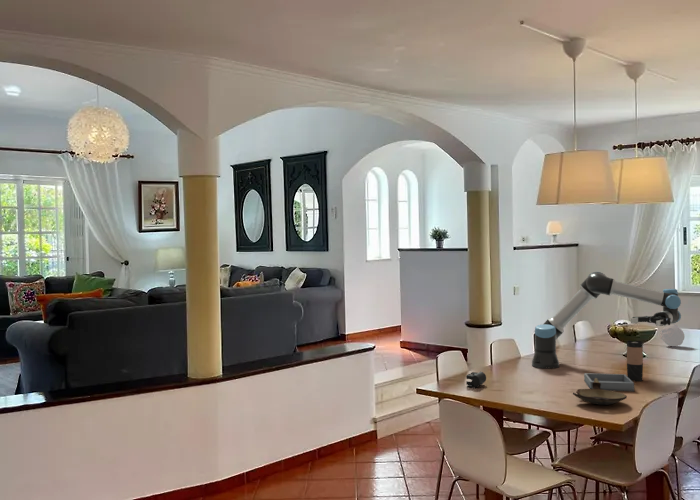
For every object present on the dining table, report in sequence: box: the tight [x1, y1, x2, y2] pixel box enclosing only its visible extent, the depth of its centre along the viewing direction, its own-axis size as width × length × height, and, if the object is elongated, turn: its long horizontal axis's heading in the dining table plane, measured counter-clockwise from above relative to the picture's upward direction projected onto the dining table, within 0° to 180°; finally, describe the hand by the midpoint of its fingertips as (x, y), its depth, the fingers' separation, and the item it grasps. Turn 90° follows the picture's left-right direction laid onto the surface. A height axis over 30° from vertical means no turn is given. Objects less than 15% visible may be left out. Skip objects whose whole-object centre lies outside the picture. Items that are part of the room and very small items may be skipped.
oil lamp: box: [572, 378, 627, 406], centre depth 291 cm, size 22×30×8 cm
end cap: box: [465, 371, 487, 389], centre depth 325 cm, size 10×7×7 cm
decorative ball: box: [659, 323, 685, 347], centre depth 429 cm, size 15×13×15 cm
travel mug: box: [626, 340, 644, 382], centre depth 334 cm, size 8×8×20 cm
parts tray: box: [583, 372, 635, 392], centre depth 321 cm, size 20×20×4 cm
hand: (643, 322), depth 339 cm, fingers open, 13 cm apart
